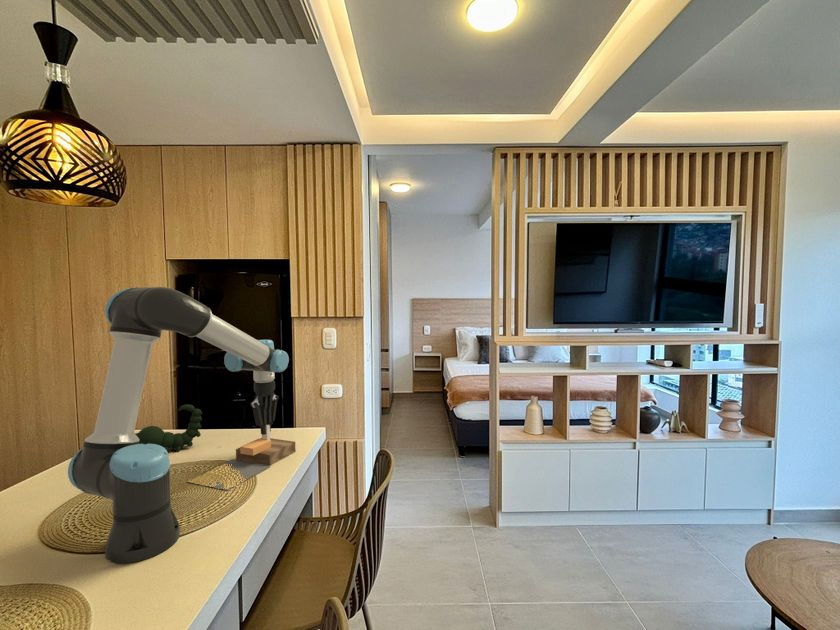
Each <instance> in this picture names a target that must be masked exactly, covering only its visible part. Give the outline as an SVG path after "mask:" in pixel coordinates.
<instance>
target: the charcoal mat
mask: <svg viewBox="0 0 840 630" xmlns="http://www.w3.org/2000/svg"><path fill="white" fill-rule="evenodd" d="M225 463H226V464H228V466H229V464H230V466H231V464H232V466H231V468H232V470H233V468H234V470H235V469H236V470H237V471H238V470H239V471H240V474H241V477H242V475H243V477H244V478H245V479H246V481H248V480H249V479H248V478H250V479H252V478H253V477H252V476H254V477H255V476H257V475H259V474H262V472H264V471H267V470H268V469H270V468H271V466H269V465H263V464H257V463H252V462H246V461H240V460H235V459H230V460H228V461H226V462H224V463H222V464H220V465H219V466H221V465H223V464H225ZM226 466H227V465H226ZM232 472H233V471H232ZM234 472H235V471H234ZM241 472H242V473H241ZM237 473H238V472H237ZM246 477H247V478H246ZM251 477H252V478H251ZM216 478H217V477H216ZM242 479H243V478H242ZM247 479H248V480H247ZM220 480H221V479H220ZM215 481H216V480H215ZM217 481H218V480H217ZM242 481H243V480H242ZM219 483H220V482H216V484H219ZM211 484H212V483H211ZM211 484H210V483H209V485H211ZM213 487H214V486H213ZM221 487H222V488H221ZM215 488H219V489H218V490H220V489H223V483H222V484H221V485H220V484H219V485H218V486H217V485H216V486H215ZM215 488H214V489H215ZM229 489H230V488H229ZM229 489H225V488H224V489H223V490H222V491H224V490H228V491H230V490H231V489H230V490H229Z"/></svg>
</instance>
